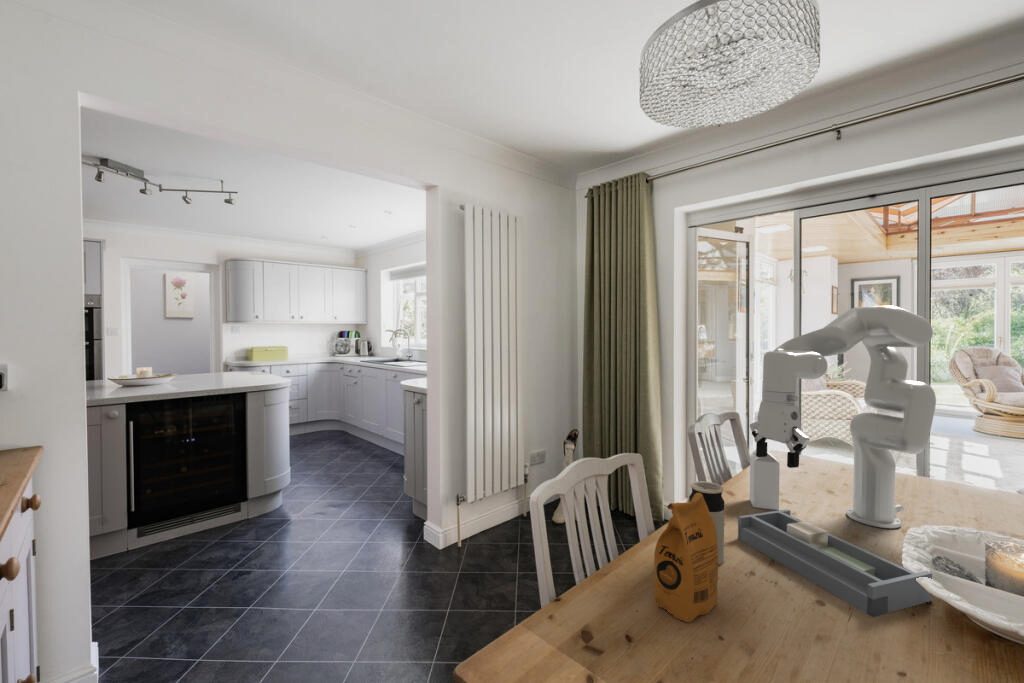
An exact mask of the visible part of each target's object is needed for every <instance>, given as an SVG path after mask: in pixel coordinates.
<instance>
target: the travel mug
mask: <svg viewBox="0 0 1024 683" xmlns="http://www.w3.org/2000/svg"><path fill="white" fill-rule="evenodd" d="M689 486H690V488H691V493H690V495H689V497H688V502H690V501H691V499H692V498H693V496H694V494H696V493H701V494H702V495H703V498H704V500H705V502H706V505H707V507H708V510H709V512H710V514H711V516H712V519H713V521H714V524H715V527H716V534H717V543H718V566H719V565H722V564H723V563H724V562H725V500H724V498H723V496H722V494H723V491H724V487H723V486H721V485H720V484H718V483H714V482H710V481H705V480H703V481H701V480H700V481H692V482H691V483H690V485H689Z"/></svg>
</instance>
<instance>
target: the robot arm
mask: <svg viewBox="0 0 1024 683" xmlns="http://www.w3.org/2000/svg"><path fill="white" fill-rule="evenodd" d="M933 334H934V332H933V327H932V325H931V323H930V322H929V321H928V320H927V319H926V318H925V317H923V316H920V315H918V314H916V313H914V312H912V311H909V310H907V309H904V308H901V307H899V306H895V305H871V306H870V305H869V306H867V305H866V306H856V307H853V308H850V309H848V310H846V311H844V312H843V313H842V314H841V315H840V316H837V318H835V319H834V320H833V321H830V322H829V323H828V324H826V325H825V326H824V327H822V328H820V329H819V328H818V329H816V330H813V331H810V332H807V333H805V334H802V335H799V336H796V337H792V338H791V339H789V340H787V341H785V342H783V343H782V344H781V345H779V346H778V347H776V348H775V349H773V350H772V351H771V350H770V351H767V352H765V353H764V354H763V359H762V360H763V362H762V363H763V365H762V370H763V371H762V396H761V399H762V400H760V404H759V407H758V415H757V421H755V422H751V423H750V424H749V428H750V430H751V435H752V437H753V438H754V442H755V443H756V446H755V447H756V449H755V450H756V457H766V456H767V451H768V442H767V440H771V441H774V442H777V443H782V444H785V446H786V447H787V449H788V450H789V451H788V452H787V454H786V455H787V458H786V459H787V460H786V466H787V468H789V469H794V468H799V466H800V453H802V452H803V450H804V449H806V448H807V445H808V443H809V442H810V437H808V435H807V434H805V433H804V432H802V420H801V413H800V412H801V411H800V408H799V407H800V406H799V405H798V404H796V402H798V401H799V397H798V396H796V394H797V393H796V391H797V390H796V388H797V379H803V380H816V379H819V378H821V377H823V376H824V375H825V374H826V372H827V371H828V361H827V359H826V358H825V357H832V356H836V355H840V354H844V353H846V352H848V351H850V349H852V348H853V347H855V346H856V345H858V344H859V343H860V342H862V344H863V345H864V347H865V348H866V350H867V352H868V355H869V358H870V366H869V371H868V376H867V379H866V385H865V389H864V395H863V400H864V403H865V405H867V406H868V407H870V408H873V409H875V410H881V411H885V412H893V413H900V414H903V417H900V416H892V415H888V414H884V413H883V414H882V413H875V412H861V413H858V414H856V415H855V416H853V417H852V419H851V421H850V424H849V425H850V426H849V427H850V435H851V439H852V440H851V441H852V446H853V483H852V484H853V487H852V488H853V489H852V490H853V491H852V492H853V493H852V494H853V495H852V507H850V508H847V509H846V515H847V516H848V517H849V518H850V519H851V520H853V521H855V522H858V523H861V524H863V525H867V526H871V527H876V528H882V529H897V528H900V527H902V520H901V518H899V517H897V515H896V514H897V513H900V512H903V511H904V509H905V508H904V507H903V505H901V504H895V501H896V499H895V497H896V461H895V458H894V457H893V455H892V453H891V451H893V452H894V451H895V452H900V453H904V454H909V455H917V454H921V453H922V452H924V450H925V448H926V447H927V446H928V442H929V438H930V434H931V430H932V425H933V420H934V415H935V411H936V405H937V397H936V393H935V391H934V389H933V387H932V386H931V385H929V384H928V383H925V382H923V381H917V380H910V379H909V380H907V375H908V368H909V363H908V361H907V358H906V357H905V355H904V354H903V353H902V351H901V350H899V348H920V347H921V348H922V347H924V346H926V345H927V344H928V343H930V342H931V340H932V337H933ZM890 450H891V451H890Z"/></svg>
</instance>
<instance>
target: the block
mask: <svg viewBox="0 0 1024 683" xmlns="http://www.w3.org/2000/svg"><path fill="white" fill-rule="evenodd" d="M802 521H803V520H802ZM787 533H789V534H791V535H793V536H795V537H797V538H799V539H801V540H803V541H805V542H807V543H809V544H811V545H813V546H815V547H817V548H819V549H823V548H828V533H829V531H828V530H825V529H823V528H821V527H819V526H816V525H815V524H812V523H811V522H808V521H803V522H797V523H791V524H787Z"/></svg>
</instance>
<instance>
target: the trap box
mask: <svg viewBox="0 0 1024 683" xmlns="http://www.w3.org/2000/svg"><path fill="white" fill-rule="evenodd" d="M737 517H738V518H737V519H738V520H737V539H738V540H740V541H742V543H745V544H747V545H748V546H750V547H752V548H753V549H754V550H755V549H756V550H757V551H758V552H760V553H762V554H763V555H765V556H767V557H769V558H771V560H772V559H773V560H774V561H776V562H777V563H779V564H781V565H783V566H784V567H786V568H788V569H789V570H791V571H793V572H794V573H796V574H798V575H799V576H801V577H803V578H805V579H807V580H808V581H810V582H811V583H813V584H815V585H817V586H819V587H820V588H822V589H824V590H825V591H827V592H828V593H830V594H832V595H834V596H835V597H838V598H839V599H840V600H842V601H844V602H846V603H848V604H849V605H851V606H853V607H854V608H856V609H857V610H860V611H861V612H863V613H864V614H866V615H868V616H870V617H871V618H874V617H877V616H880V615H882V616H883V615H886V614H890V613H892V612H893V613H894V612H897V611H900V609H901V610H904V608H905V609H909V608H912V606H913V607H916V606H915V605H917V606H919V604H921V603H924V604H926V603H925V602H928V603H930V602H929V601H932V600H933V599H932V596H933V594H932V595H931V594H930V593H928V592H927V591H926V590H925V589H924V588H923V587H922V586H921V585H920V584H919V583H918V582H917V581H916V578H919V577H928V578H931V579H932V580H933V573H932V572H930V571H928V570H923V571H919V572H916V571H913V570H910V569H909V568H907V567H904V566H901V565H899V564H897V563H895V562H892V561H891V560H889V559H886V558H884V557H882V556H879V555H877V554H875V553H873V552H870V551H869V550H867V549H864V548H863V547H860V546H858V545H855V544H853V543H851V542H849V541H847V540H845V539H842V538H840V537H838V536H836V535H834V534H831V533H829V532H828V548H823V549H819V548H817V547H815V546H813V545H811V544H809V543H807V542H805V541H803V540H801V539H799V538H797V537H795V536H793V535H791V534H789V533H787V524H791V523H797V522H803V520H800V519H798V518H796V517H794V516H792V515H791V510H790V509H788V508H785V509H779V510H773V511H766V512H759V513H753V514H745V515H740V516H737ZM921 605H922V604H921ZM908 607H909V608H908ZM896 610H897V611H896Z"/></svg>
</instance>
